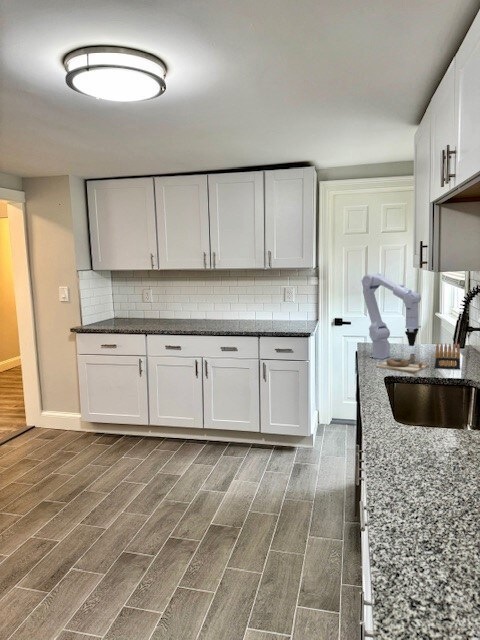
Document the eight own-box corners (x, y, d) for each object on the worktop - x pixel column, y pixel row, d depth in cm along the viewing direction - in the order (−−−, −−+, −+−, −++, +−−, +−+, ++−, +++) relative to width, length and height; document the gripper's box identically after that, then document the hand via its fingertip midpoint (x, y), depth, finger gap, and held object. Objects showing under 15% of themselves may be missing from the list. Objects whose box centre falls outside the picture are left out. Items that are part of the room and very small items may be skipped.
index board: (392, 360, 225) (392, 355, 225) (429, 366, 211) (429, 360, 211) (375, 367, 214) (375, 361, 214) (413, 373, 201) (413, 367, 200)
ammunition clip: (434, 368, 208) (435, 343, 206) (434, 367, 210) (435, 342, 208) (460, 369, 205) (460, 343, 203) (459, 368, 206) (460, 343, 205)
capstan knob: (394, 367, 208) (394, 358, 207) (382, 362, 217) (382, 354, 217) (420, 364, 211) (420, 356, 210) (408, 360, 220) (408, 351, 220)
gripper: (420, 318, 207) (420, 347, 209) (421, 315, 220) (421, 341, 222) (404, 318, 210) (404, 347, 212) (406, 315, 223) (406, 341, 225)
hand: (412, 344), depth 217 cm, fingers open, 7 cm apart
